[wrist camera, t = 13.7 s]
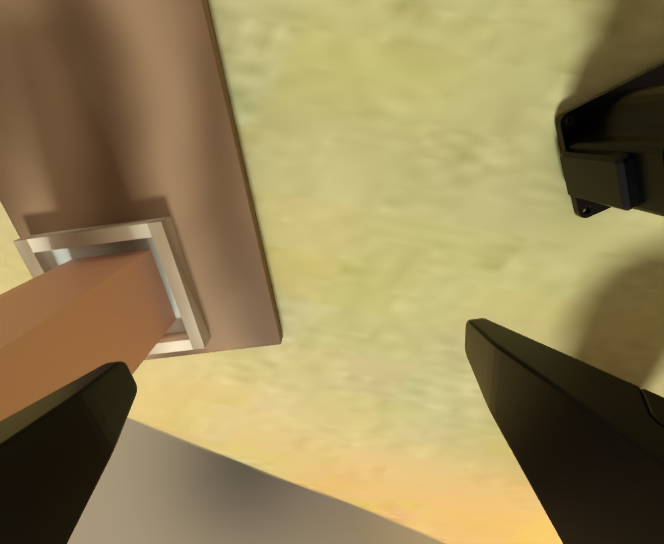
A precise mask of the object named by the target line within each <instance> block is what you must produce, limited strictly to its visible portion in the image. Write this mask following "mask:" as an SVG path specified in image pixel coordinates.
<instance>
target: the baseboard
mask: <svg viewBox="0 0 664 544" xmlns="http://www.w3.org/2000/svg"><path fill="white" fill-rule="evenodd" d="M0 201H1V203H2V205H3V207H4V208H5V210H6V212H7V214H8V216H9V218H10V220H11V222H12V223H13V225H14V227H15V229H16V231H17V233H18V235H19V237H20V238H21V239H18V240H15V241H13V242H14V244H15V246H16V248H17V250H18V252H19V253H20V255H21V257H22V259H23V261H24V263H25V264H26V266H27V268H28V270H29V272H30V274H31V275H32V277H33V278H35V277H37V276H39V275H41V274H43V273H45V272H47V271H49V270H51V269H53V268H55V267H57V266H59V265H61V264H63V263H65V262H67V261H69V260H71V259H78V258H86V257H94V256H101V255H109V254H117V253H125V252H133V251H141V250H149V249H151V252H152V254H153V257H154V260H155V262H156V265H157V268H158V271H159V273H160V276H161V279H162V281H163V284H164V287H165V290H166V292H167V295H168V298H169V300H170V303H171V306H172V308H173V311H174V314H175V317H176V320H175V322H174V323H173V324H172V325H171V327H170V328H169V329H168V330H167V332H166V333H165V334H164V335H163V337H162V338H161V339H160V340H159V342H158V343H157V344H156V345H155V347H154V348H153V349H152V350H151V352H150V353H149V354H148V355H147V357H146V358H145V359H144V360H149V359H157V358H166V357H175V356H183V355H192V354H200V353H209V352H217V351H226V350H235V349H243V348H252V347H260V346H269V345H277V344H281V342H282V337H283V335H282V330H281V326H280V321H279V317H278V312H277V308H276V304H275V299H274V295H273V290H272V286H271V281H270V277H269V273H268V268H267V264H266V259H265V255H264V250H263V246H262V242H261V237H260V233H259V228H258V224H257V219H256V215H255V211H254V206H253V202H252V197H251V193H250V189H249V184H248V180H247V175H246V171H245V166H244V162H243V158H242V153H241V149H240V144H239V140H238V135H237V131H236V127H235V122H234V118H233V113H232V109H231V104H230V100H229V96H228V91H227V87H226V82H225V78H224V73H223V69H222V65H221V60H220V56H219V51H218V47H217V42H216V38H215V34H214V29H213V25H212V20H211V16H210V11H209V7H208V3H207V0H0Z"/></svg>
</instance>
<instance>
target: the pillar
mask: <svg viewBox="0 0 664 544" xmlns="http://www.w3.org/2000/svg"><path fill="white" fill-rule="evenodd" d="M175 320H176V317H175V314H174V311H173V308H172V306H171V303H170V300H169V298H168V295H167V292H166V290H165V287H164V284H163V281H162V279H161V276H160V273H159V271H158V268H157V265H156V262H155V260H154V257H153V254H152V252H151V249H149V250H141V251H133V252H125V253H117V254H109V255H101V256H94V257H86V258H78V259H71V260H69V261H67V262H65V263H63V264H61V265H59V266H57V267H55V268H53V269H51V270H49V271H47V272H45V273H43V274H41V275H39V276H37V277H35V278H33V279H31V280H29V281H27V282H25V283H23V284H21V285H19V286H17V287H15V288H13V289H11V290H9V291H7V292H5V293H3V294H1V295H0V421H2V420H3V419H5V418H7V417H9V416H11V415H12V414H14V413H16V412H18V411H20V410H22V409H23V408H25V407H27V406H29V405H31V404H32V403H34V402H36V401H38V400H40V399H42V398H43V397H45V396H47V395H49V394H51V393H52V392H54V391H56V390H58V389H60V388H62V387H63V386H65V385H67V384H69V383H71V382H72V381H74V380H76V379H78V378H80V377H82V376H83V375H85V374H87V373H89V372H91V371H92V370H94V369H96V368H98V367H100V366H102V365H103V364H105V363H109V362H117V361H122V362H125V363H126V364H127V366H128V368H129V370H130V372H131V374H133V373H134V372H135V370H136V369H137V368H138V367H139V365H140V364H141V363H142V362H143V360H144V359H145V358H146V357H147V355H148V354H149V353H150V352H151V350H152V349H153V348H154V347H155V345H156V344H157V343H158V342H159V340H160V339H161V338H162V337H163V335H164V334H165V333H166V332H167V330H168V329H169V328H170V327H171V325H172V324H173V323H174V322H175Z"/></svg>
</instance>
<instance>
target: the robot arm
mask: <svg viewBox="0 0 664 544" xmlns="http://www.w3.org/2000/svg"><path fill="white" fill-rule="evenodd" d="M568 117H569V123H568V125H565V120H566V118H568ZM556 129H557V134H558V139H559V143H560V148H561V152H562V154H561V157H560V159H561V163H562V168H563V172H564V177H565V182H566V186H567V191H568V194H569V195H570V196H571V198H572V203H573V208H574V212H575V214H576V215H577V216H579V217H582V218H587V217H590V216H592V215H595V214H597V213H599V212H601V211H604V210H606V209H608V208H610V207H614V208H618V209H622V210H630V209H636V210H640V211H644V212H648V213H652V214H656V215H660V216H664V62H662V63H660V64H658V65H656V66H654V67H652V68H650V69H648V70H646V71H644V72H642V73H640V74H638V75H636V76H634V77H632V78H630V79H628V80H626V81H624V82H622V83H620V84H618V85H616V86H615V87H613V88H611V89H609V90H607V91H605V92H603V93H601V94H599V95H597V96H595V97H593V98H591V99H589V100H587V101H585V102H583V103H581V104H579V105H577V106H575V107H573V108H571V109H569V110H567V111H565V112H563V113H562V114H560V115H559V116H558V118H557V120H556ZM586 206H587V209H586V211H584V212H583V209H584V208H585V207H586ZM465 351H466V355H467V358H468V360H469V363H470V365H471V367H472V370H473V372H474V375H475V377H476V379H477V382H478V384H479V387H480V389H481V391H482V394H483V396H484V399H485V401H486V403H487V405H488V408H489V410H490V412H491V414H492V416H493V418H494V419H495V421H496V423H497V425H498V427H499V428H500V430H501V432H502V434H503V436H504V438H505V439H506V441H507V443H508V445H509V447H510V448H511V450H512V452H513V454H514V456H515V457H516V459H517V461H518V463H519V465H520V466H521V468H522V470H523V472H524V474H525V475H526V477H527V479H528V481H529V483H530V485H531V486H532V488H533V490H534V492H535V494H536V495H537V497H538V499H539V501H540V503H541V504H542V506H543V508H544V510H545V512H546V513H547V515H548V517H549V519H550V521H551V522H552V524H553V526H554V528H555V530H556V531H557V533H558V535H559V537H560V539H561V541H562V542H563V544H664V398H663V397H661V396H659V395H657V394H654V393H652V392H650V391H648V390H645V389H641V390H640V388H639V387H638V386H636V385H634V384H632V383H629V382H627V381H625V380H623V379H620V378H618V377H616V376H613V375H611V374H609V373H607V372H604V371H602V370H600V369H598V368H595V367H593V366H591V365H589V364H586V363H584V362H582V361H580V360H577V359H575V358H573V357H571V356H568V355H566V354H564V353H562V352H559V351H557V350H555V349H552V348H550V347H548V346H546V345H543V344H541V343H539V342H537V341H534V340H532V339H530V338H528V337H525V336H523V335H521V334H519V333H516V332H514V331H512V330H510V329H507V328H505V327H503V326H501V325H498V324H496V323H494V322H491V321H489V320H487V319H484V318H480V319H471V320H468V321H467V323H466V333H465ZM136 393H137V385H136V383H135V380H134V378H133V376H132V374H131V372H130V370H129V368H128V366H127V364H126V363H125V362H122V361H117V362H109V363H105V364H103V365H102V366H100V367H98V368H96V369H94V370H92V371H91V372H89V373H87V374H85V375H83V376H82V377H80V378H78V379H76V380H74V381H72V382H71V383H69V384H67V385H65V386H63V387H62V388H60V389H58V390H56V391H54V392H52V393H51V394H49V395H47V396H45V397H43V398H42V399H40V400H38V401H36V402H34V403H32V404H31V405H29V406H27V407H25V408H23V409H22V410H20V411H18V412H16V413H14V414H12V415H11V416H9V417H7V418H5V419H3V420H2V421H0V544H67V542H68V540H69V538H70V536H71V534H72V532H73V530H74V528H75V526H76V524H77V523H78V521H79V519H80V517H81V515H82V512H83V511H84V508H85V507H86V505H87V503H88V500H89V499H90V497H91V495H92V493H93V491H94V489H95V487H96V485H97V483H98V481H99V479H100V477H101V475H102V473H103V471H104V469H105V467H106V465H107V463H108V461H109V459H110V457H111V455H112V453H113V451H114V448H115V446H116V444H117V441H118V439H119V436H120V434H121V431H122V429H123V426H124V423H125V421H126V419H127V416H128V414H129V411H130V409H131V406H132V404H133V401H134V399H135V396H136Z"/></svg>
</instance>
